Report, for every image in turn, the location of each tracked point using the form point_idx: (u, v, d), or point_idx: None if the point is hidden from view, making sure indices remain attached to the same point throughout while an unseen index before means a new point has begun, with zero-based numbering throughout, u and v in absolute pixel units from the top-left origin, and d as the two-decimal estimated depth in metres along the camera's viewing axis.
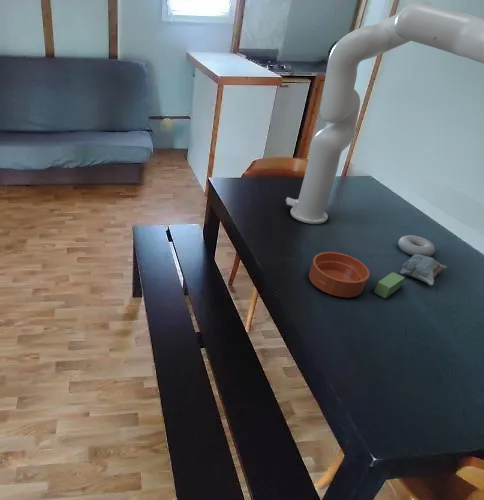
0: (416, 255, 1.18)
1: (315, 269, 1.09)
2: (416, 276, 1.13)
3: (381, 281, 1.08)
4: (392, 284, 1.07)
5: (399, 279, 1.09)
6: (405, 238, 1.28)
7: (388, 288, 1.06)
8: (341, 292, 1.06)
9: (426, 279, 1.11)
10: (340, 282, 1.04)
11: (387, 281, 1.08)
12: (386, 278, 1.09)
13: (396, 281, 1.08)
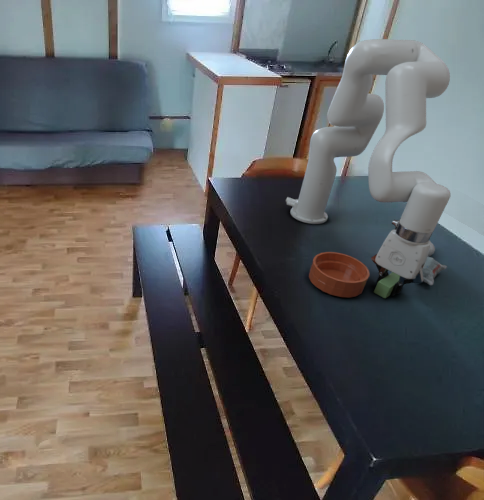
0: None
1: (315, 269, 1.09)
2: None
3: (381, 281, 1.08)
4: (392, 284, 1.07)
5: None
6: None
7: (388, 288, 1.06)
8: (341, 292, 1.06)
9: (426, 279, 1.11)
10: (340, 282, 1.04)
11: (387, 281, 1.08)
12: (386, 278, 1.09)
13: (396, 281, 1.08)
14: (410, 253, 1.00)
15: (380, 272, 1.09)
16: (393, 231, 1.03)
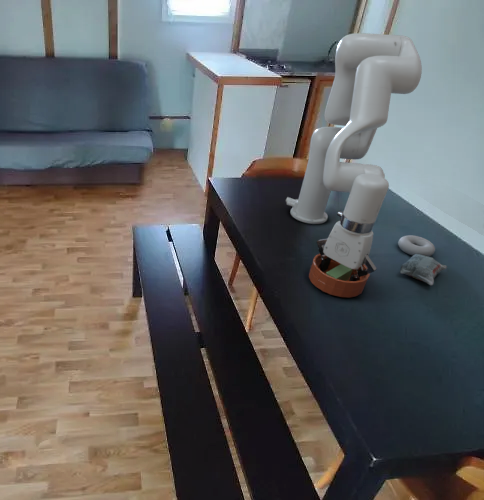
0: (416, 255, 1.18)
1: (315, 269, 1.09)
2: (416, 276, 1.13)
3: (329, 272, 1.09)
4: (339, 275, 1.09)
5: (347, 270, 1.10)
6: (405, 238, 1.28)
7: None
8: (341, 292, 1.06)
9: (426, 279, 1.11)
10: (340, 282, 1.04)
11: (334, 272, 1.09)
12: (334, 269, 1.11)
13: (344, 272, 1.10)
14: (353, 244, 1.02)
15: (322, 257, 1.12)
16: (338, 222, 1.05)
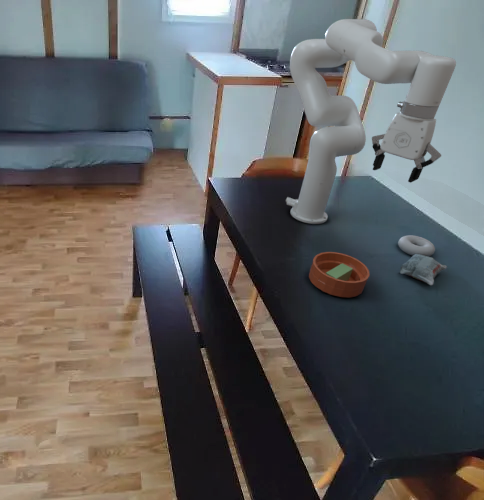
0: (416, 255, 1.18)
1: (315, 269, 1.09)
2: (416, 276, 1.13)
3: (329, 272, 1.09)
4: (339, 275, 1.09)
5: (347, 270, 1.10)
6: (405, 238, 1.28)
7: None
8: (341, 292, 1.06)
9: (426, 279, 1.11)
10: (340, 282, 1.04)
11: (334, 272, 1.09)
12: (334, 269, 1.11)
13: (344, 272, 1.10)
14: (415, 131, 1.01)
15: (376, 152, 1.11)
16: (398, 113, 1.04)
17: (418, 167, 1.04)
